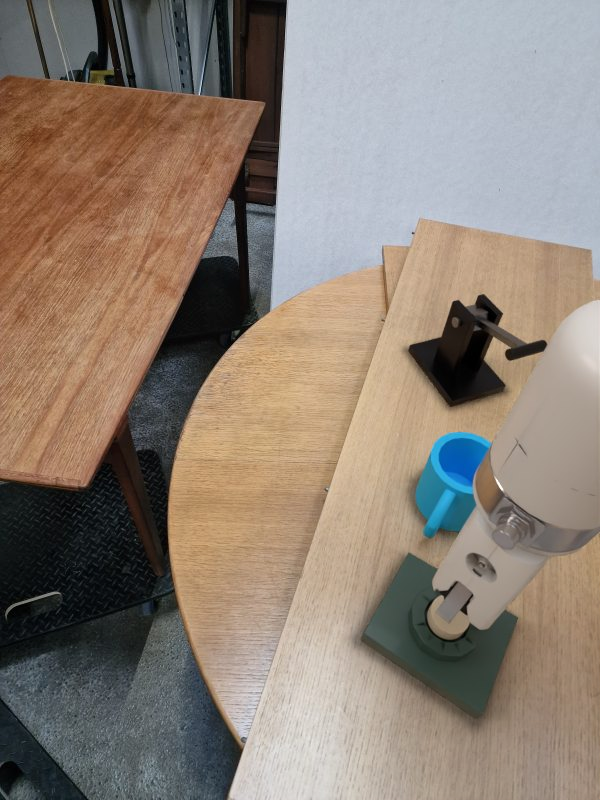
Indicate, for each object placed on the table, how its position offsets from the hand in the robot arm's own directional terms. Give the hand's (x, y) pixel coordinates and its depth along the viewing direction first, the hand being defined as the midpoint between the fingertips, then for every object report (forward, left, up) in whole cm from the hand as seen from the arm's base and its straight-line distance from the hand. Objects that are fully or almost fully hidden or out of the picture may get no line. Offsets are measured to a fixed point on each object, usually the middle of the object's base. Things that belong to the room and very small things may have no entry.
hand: (456, 596), depth 45 cm
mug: (+5, -13, -9) cm, 17 cm away
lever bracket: (+13, -36, -9) cm, 39 cm away
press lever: (+9, -33, +1) cm, 34 cm away
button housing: (0, 0, -9) cm, 9 cm away
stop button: (0, 0, -5) cm, 5 cm away
